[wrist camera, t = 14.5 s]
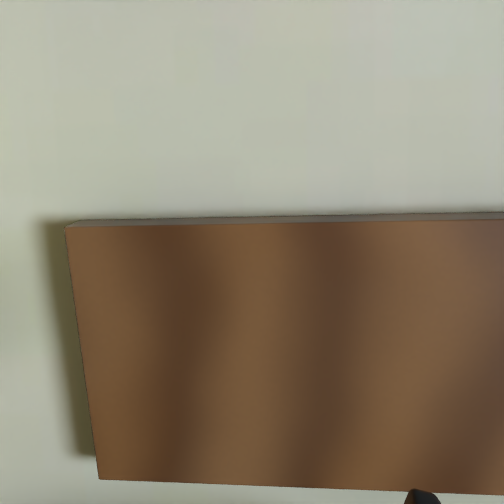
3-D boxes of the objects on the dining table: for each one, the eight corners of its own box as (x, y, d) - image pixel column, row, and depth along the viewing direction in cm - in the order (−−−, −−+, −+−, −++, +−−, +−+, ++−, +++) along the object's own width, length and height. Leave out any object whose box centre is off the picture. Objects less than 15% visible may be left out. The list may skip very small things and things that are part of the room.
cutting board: (110, 458, 24) (98, 480, 22) (79, 220, 21) (63, 226, 19) (538, 473, 22) (554, 498, 20) (572, 210, 19) (594, 217, 17)
